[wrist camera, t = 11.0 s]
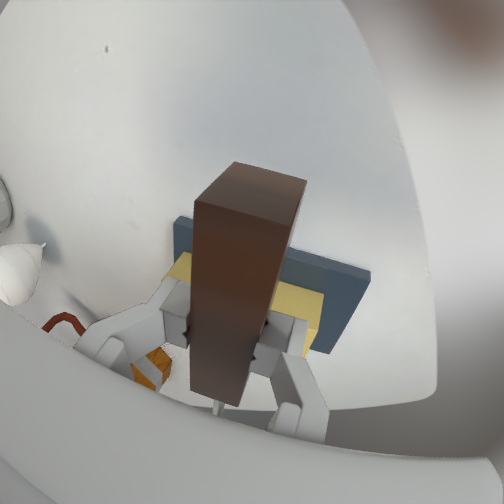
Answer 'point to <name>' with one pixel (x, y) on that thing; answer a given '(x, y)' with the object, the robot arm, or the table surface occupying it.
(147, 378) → the mug
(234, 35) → the table surface
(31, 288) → the spinning top
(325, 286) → the butter dish
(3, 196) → the jar
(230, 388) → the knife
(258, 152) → the table surface
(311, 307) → the block
